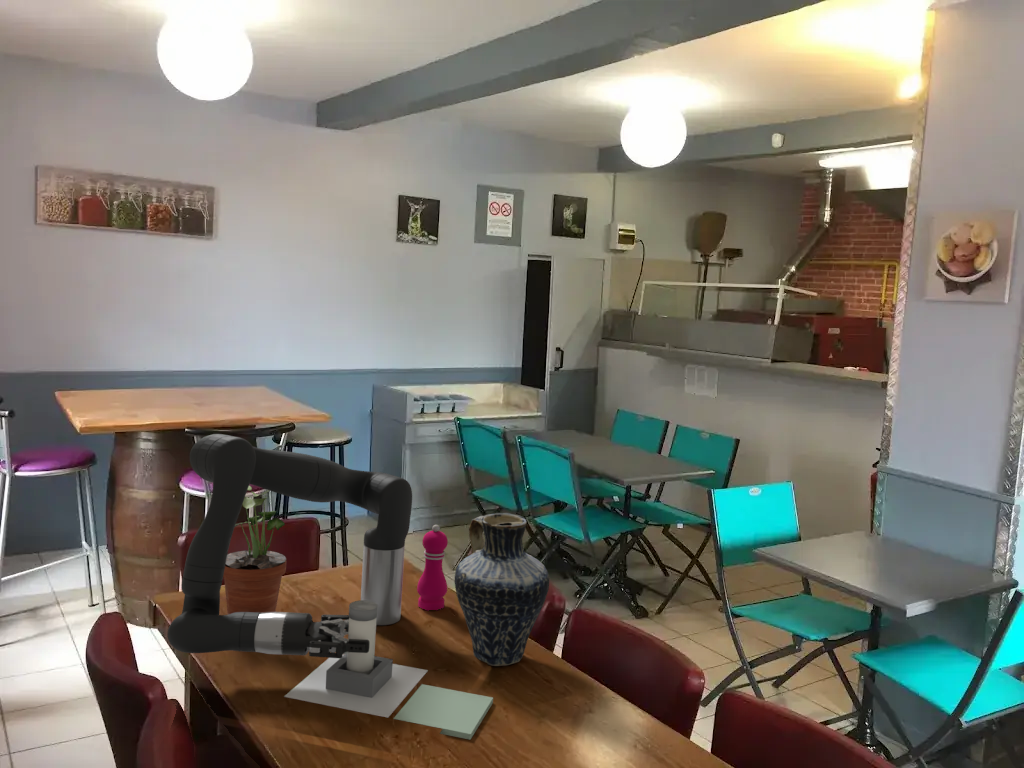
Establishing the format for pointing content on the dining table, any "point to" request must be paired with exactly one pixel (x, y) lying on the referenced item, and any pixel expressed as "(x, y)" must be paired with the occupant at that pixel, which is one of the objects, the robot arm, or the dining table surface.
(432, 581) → the pepper mill
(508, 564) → the jug
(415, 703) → the mat
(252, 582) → the potted plant
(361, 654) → the cartridge
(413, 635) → the dining table surface
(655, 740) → the dining table surface
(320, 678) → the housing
